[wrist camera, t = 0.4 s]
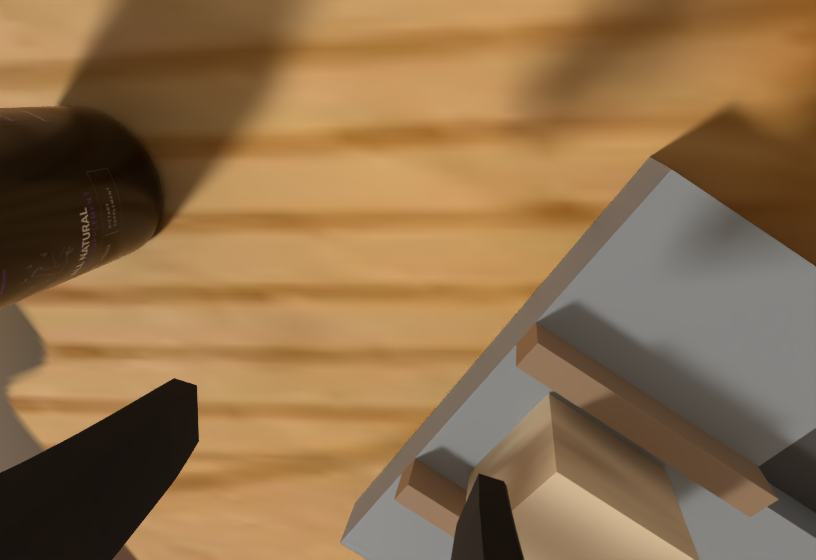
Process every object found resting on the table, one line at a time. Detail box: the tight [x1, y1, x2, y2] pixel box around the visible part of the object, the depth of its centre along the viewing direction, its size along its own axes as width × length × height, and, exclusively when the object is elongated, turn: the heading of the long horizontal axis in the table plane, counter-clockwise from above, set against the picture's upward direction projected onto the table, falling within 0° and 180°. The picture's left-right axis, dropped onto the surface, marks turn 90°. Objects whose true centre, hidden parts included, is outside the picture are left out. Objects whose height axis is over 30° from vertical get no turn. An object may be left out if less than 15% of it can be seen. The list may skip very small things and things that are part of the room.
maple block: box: [466, 393, 700, 560], centre depth 17 cm, size 6×6×4 cm
